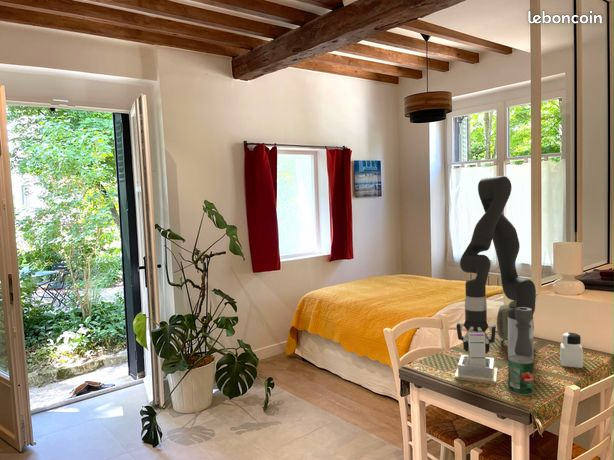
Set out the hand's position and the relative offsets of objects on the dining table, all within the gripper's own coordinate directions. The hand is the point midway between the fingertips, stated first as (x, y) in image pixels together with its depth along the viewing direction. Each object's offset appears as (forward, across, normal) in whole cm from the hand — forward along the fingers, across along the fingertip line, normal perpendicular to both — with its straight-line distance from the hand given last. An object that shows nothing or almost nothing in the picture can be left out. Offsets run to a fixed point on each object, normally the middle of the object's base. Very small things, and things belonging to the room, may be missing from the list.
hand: (476, 351), depth 172 cm
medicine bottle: (+9, -33, -23) cm, 41 cm away
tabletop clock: (+9, -13, -38) cm, 41 cm away
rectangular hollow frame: (+9, 0, 0) cm, 9 cm away
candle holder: (+9, -16, -4) cm, 19 cm away
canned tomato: (+9, -15, +10) cm, 20 cm away
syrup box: (+6, 0, 0) cm, 6 cm away
